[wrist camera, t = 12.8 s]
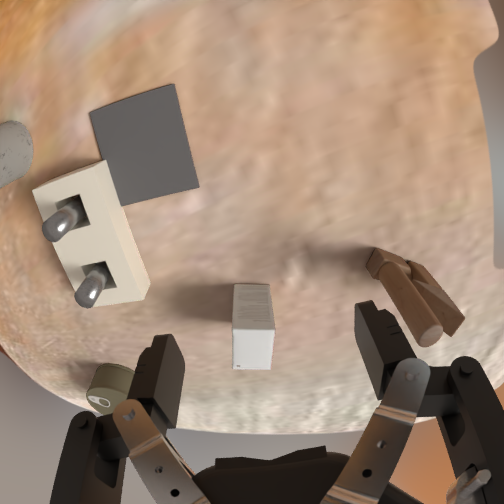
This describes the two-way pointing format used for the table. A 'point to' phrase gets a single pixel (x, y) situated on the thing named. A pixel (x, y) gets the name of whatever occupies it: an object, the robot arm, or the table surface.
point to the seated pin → (93, 285)
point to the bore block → (95, 233)
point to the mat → (145, 146)
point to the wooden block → (416, 297)
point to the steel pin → (64, 220)
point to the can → (109, 387)
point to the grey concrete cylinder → (14, 152)
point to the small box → (252, 327)
